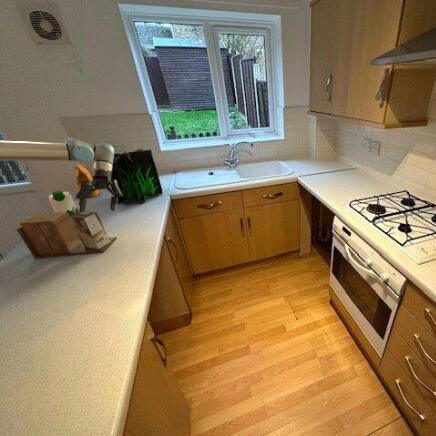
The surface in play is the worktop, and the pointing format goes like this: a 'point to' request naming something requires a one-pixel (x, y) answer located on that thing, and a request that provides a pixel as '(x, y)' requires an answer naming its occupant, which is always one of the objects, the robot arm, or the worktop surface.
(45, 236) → the rack
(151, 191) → the decorative plant
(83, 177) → the coffee package
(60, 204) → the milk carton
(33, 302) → the worktop surface
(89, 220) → the coffee box
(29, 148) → the robot arm
